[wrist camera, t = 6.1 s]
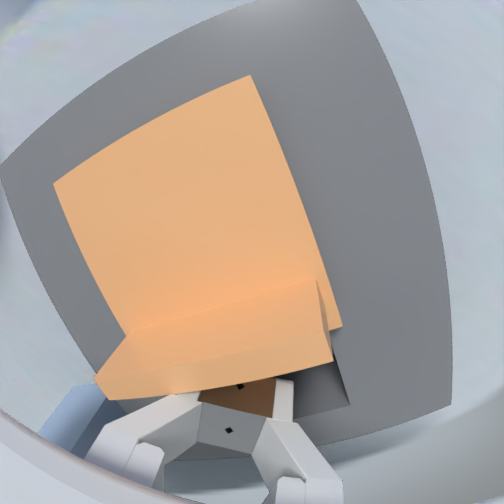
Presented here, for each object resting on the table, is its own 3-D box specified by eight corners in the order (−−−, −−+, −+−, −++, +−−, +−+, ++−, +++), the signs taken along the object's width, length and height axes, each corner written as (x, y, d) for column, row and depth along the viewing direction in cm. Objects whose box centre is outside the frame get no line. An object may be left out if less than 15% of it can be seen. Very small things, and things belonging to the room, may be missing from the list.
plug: (117, 415, 18) (65, 505, 10) (85, 372, 17) (16, 461, 9) (160, 412, 17) (111, 519, 10) (127, 366, 16) (55, 475, 8)
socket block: (186, 410, 17) (167, 460, 13) (55, 158, 13) (-3, 168, 9) (425, 352, 14) (450, 404, 10) (329, 23, 10) (342, -22, 6)
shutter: (155, 362, 10) (119, 422, 8) (64, 180, 9) (-6, 199, 6) (340, 315, 9) (356, 386, 6) (253, 79, 7) (230, 42, 4)
